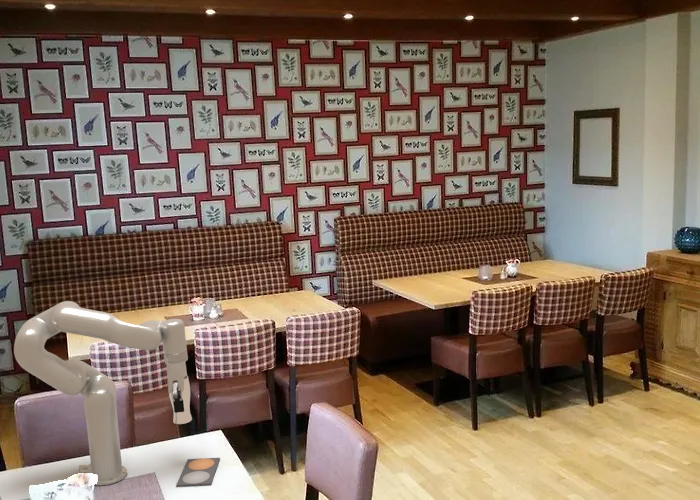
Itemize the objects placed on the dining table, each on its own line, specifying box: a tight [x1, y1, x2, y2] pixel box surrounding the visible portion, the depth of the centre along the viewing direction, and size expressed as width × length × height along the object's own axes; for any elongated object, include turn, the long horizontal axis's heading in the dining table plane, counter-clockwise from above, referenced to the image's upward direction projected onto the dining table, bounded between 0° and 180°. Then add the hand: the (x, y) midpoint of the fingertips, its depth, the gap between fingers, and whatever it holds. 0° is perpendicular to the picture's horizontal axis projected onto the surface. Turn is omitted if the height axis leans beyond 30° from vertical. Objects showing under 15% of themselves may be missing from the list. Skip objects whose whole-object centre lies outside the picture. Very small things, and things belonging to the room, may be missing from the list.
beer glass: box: [168, 374, 193, 425], centre depth 238 cm, size 7×7×15 cm
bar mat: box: [175, 457, 221, 488], centre depth 235 cm, size 11×19×1 cm, turn 2°
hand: (181, 407), depth 238 cm, fingers closed on beer glass, 6 cm apart
